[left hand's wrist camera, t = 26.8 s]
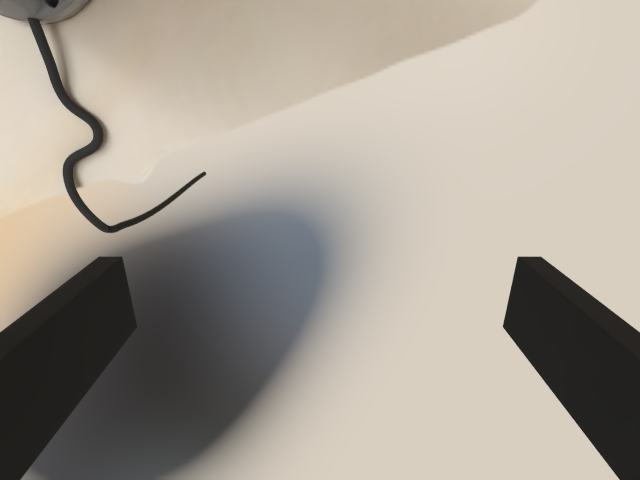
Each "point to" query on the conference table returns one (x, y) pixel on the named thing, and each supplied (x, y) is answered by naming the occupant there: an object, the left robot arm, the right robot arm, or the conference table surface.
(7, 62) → the conference table surface
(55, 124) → the conference table surface
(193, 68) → the conference table surface
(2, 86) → the conference table surface
